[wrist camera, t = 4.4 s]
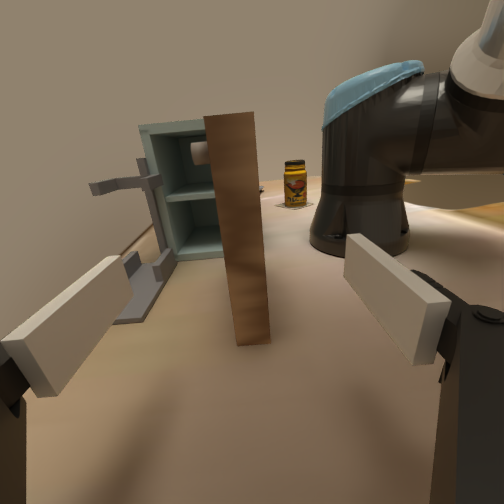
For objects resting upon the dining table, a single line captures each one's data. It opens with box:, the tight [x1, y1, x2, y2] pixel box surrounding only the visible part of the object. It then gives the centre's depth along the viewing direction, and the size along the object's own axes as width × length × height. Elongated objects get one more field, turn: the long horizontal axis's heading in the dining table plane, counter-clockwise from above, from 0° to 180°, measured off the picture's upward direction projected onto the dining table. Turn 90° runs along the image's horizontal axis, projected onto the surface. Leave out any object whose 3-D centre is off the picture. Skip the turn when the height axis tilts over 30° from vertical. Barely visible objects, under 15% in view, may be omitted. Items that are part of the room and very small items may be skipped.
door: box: [191, 112, 271, 346], centre depth 24 cm, size 4×13×18 cm, turn 1°
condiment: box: [275, 160, 313, 209], centre depth 66 cm, size 7×8×12 cm
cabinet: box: [89, 119, 224, 325], centre depth 36 cm, size 20×31×20 cm, turn 1°
